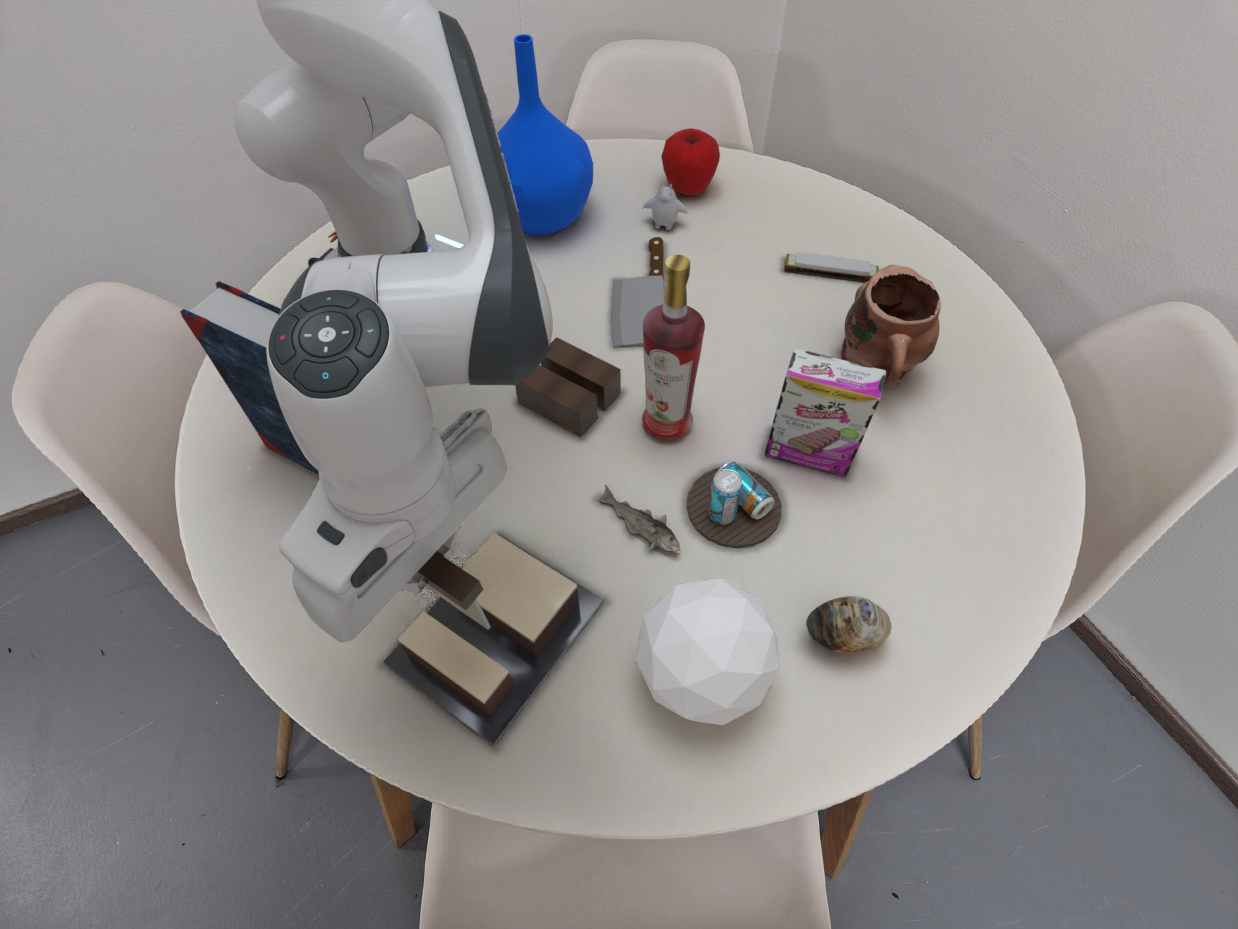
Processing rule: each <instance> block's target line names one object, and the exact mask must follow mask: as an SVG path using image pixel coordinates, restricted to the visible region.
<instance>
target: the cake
mask: <svg viewBox="0 0 1238 929" xmlns="http://www.w3.org/2000/svg"><path fill="white" fill-rule="evenodd" d="M461 569H463V570H464V571H466V572H467V573H469V574H470V575H472V576H473V577H475V578H476V579H478V580H479V581H480V583H481V585H482V587H483V591H482V592H481V593H480V595H479V596H478V597H477V598H476V599H477V601H478V603H479V605H480V607H481V609H482V611H483V612H484V614H485V616H486V618H487V620H488V622H489V624H490V626H491V627H490V628H489V630H488V629H486V628H485V627H483V626H482V625H480V624H479V623H477V622H476V621H475V620H473V619H472V618H470V617H469V616H467V615H466V614H464V613H463V612H462V611H460V610H459V609H457V608H456V607H454V606H453V605H452V604H450V603H449V602H447V601H446V600H444V599H443V598H441V597H439V598H438V599H437V601H436V602H435V603H434V604H433V605H432V606H431V607H430V608H429V610H427V611H426V613H427V614H428V615H430V616H431V617H433V618H434V619H436V620H437V621H438V622H440V623H441V624H443V625H444V626H445V627H447V628H448V629H450V630H451V631H453V632H454V633H455V634H457V635H458V636H460V637H461V638H463V639H464V640H465V641H467V642H468V643H470V644H471V645H473V646H474V647H475V648H477V649H478V650H480V651H481V652H482V653H484V654H485V655H487V656H488V657H490V658H491V659H492V660H494V661H495V662H497V663H498V664H500V665H501V666H502V667H504V668H505V669H507V670H508V671H509V674H510V677H511V679H512V682H513V685H514V688H513V690H512V691H511V692H510V693H509V695H508V696H507V697H506V699H505V700H504V701H503V702H502V704H501V705H500V706H499V708H498V709H497V710H496V712H495V713H494V714H493V715H492V717H489V716H488V715H486V714H485V713H484V712H482V711H481V710H480V709H478V708H477V707H476V706H474V705H473V704H471V703H470V702H469V701H467V700H466V699H465V698H463V697H462V696H461V695H459V694H458V693H457V692H455V691H454V690H452V689H451V688H450V687H448V686H447V685H446V684H444V683H443V682H442V681H440V680H439V679H438V678H436V677H435V676H433V675H432V674H431V673H429V672H428V671H427V670H425V669H424V668H423V667H421V666H420V665H418V664H417V663H416V662H414V661H413V660H412V659H410V658H409V657H408V656H407V654H406V652H405V651H404V649H403V648H402V646H401V644H400V643H399V642H398V643H399V644H398V645H397V646H396V647H395V648H394V649H393V650H392V651H391V652H390V653H389V654H388V655H387V657H386V658H385V659H384V660H383V662H382V663H383V665H385V666H386V667H387V668H389V669H390V670H391V671H393V672H394V673H395V674H396V675H398V676H399V677H401V678H402V679H403V680H405V681H406V682H407V683H409V684H410V685H412V686H413V687H414V688H416V689H417V690H418V691H419V692H421V693H422V694H423V695H425V696H426V697H428V699H430V700H431V701H433V702H434V703H435V704H436V705H438V706H439V707H440V708H442V709H443V710H444V711H445V712H447V713H449V714H450V715H451V716H453V718H455V719H457V721H459V722H460V723H462V724H463V725H465V727H467V728H469V730H471V731H473V733H475V734H476V735H478V736H479V737H480V738H482V739H483V740H485V741H486V742H487V743H488V744H490V745H491V746H492V747H496V745H497V743H498V742H499V741H500V740H501V738H502V737H503V736H504V735H505V733H506V732H507V730H508V729H509V728H510V727H511V725H512V724H513V722H514V721H515V720H516V719H517V717H518V716H519V714H520V713H521V712H522V710H523V709H524V708H525V706H526V705H527V704H528V702H529V701H530V700H531V699H532V698H533V696H534V695H535V693H536V692H537V691H538V690H539V688H540V687H541V685H542V684H543V683H544V682H545V681H546V679H547V678H548V676H549V675H550V673H551V672H552V671H553V670H554V668H555V667H556V665H558V663H559V662H560V660H562V657H563V656H564V655H565V654H566V652H567V651H568V650H569V649H570V647H571V646H572V644H573V643H574V642H575V640H576V639H577V638H578V636H579V635H580V634H581V632H582V631H583V630H584V628H585V627H586V626H587V625H588V623H589V622H590V620H591V619H592V618H593V617H594V616H595V614H596V613H597V611H598V610H599V609H600V608H601V606H602V605H603V603H604V599H603V598H601V597H600V596H598V595H597V594H595V593H593V592H592V591H590V590H589V589H587V588H586V587H585V586H582V585H580V584H579V583H577V582H576V581H574V580H573V579H571V578H570V577H568V576H566V575H565V574H564V573H562V572H560V571H558V570H557V569H555V568H554V567H552V566H550V565H549V564H547V563H546V562H544V561H542V560H541V559H540V558H538V557H536V556H534V555H533V554H531V553H530V552H529V551H526V550H525V549H523V547H520V546H519V545H517V544H516V543H514V542H512V541H511V540H509V539H508V538H506V537H505V536H503V535H501V534H500V533H496V532H493V533H492V534H491V535H490V536H489V537H488V538H487V540H486V541H485V542H484V543H483V544H482V545H481V546H480V548H478V550H476V552H475V553H474V554H473V555H472V556H471V558H470V559H468V561H466V563H465V564H464V565H463V567H461Z"/></svg>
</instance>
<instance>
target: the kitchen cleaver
mask: <svg viewBox="0 0 1238 929" xmlns="http://www.w3.org/2000/svg"><path fill="white" fill-rule="evenodd" d="M648 249H649V250H650V254H649V255H650V256H649V259H650V263H649V264H650V267H651V268H650V269H649V272H648V275H644V276H636V277H629V278H622V279H614V280H613V281H614V282H613V291H612V304H611V330H612V333H611V334H612V344H613V347H614V348H623V347H643V320H644V317H645V316H646V314H647V313H648V312H649V311H650V310H651V309H653V308H655V307H657V306H659V305H663V302H664V296H665V290H664V239H663V238H662V237H661V236H654V237H652V238H651V239H650V240H649V241H648Z"/></svg>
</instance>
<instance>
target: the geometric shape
mask: <svg viewBox="0 0 1238 929" xmlns="http://www.w3.org/2000/svg"><path fill="white" fill-rule="evenodd" d="M636 650H637V651H636V657H635V663H636V665H637V668H638V669H639V671H640V673H641V675H642V677H643V679H644V681H645V683H646V686H647V687H648V689H649V691H650V694H651V695H652V698H653V700H654V702H656V703H658V704H659V705H661V706H662V707H664V708H666V709H668V710H669V711H671V712H673V713H675V714H677V715H679V716H680V717H682V718H684V719H686V720H689V721H693V722H697V723H705V724H712V725H718V726H725V725H726V724H728V723H730V722H732V721H734V720H736V719H738V718H740V717H742V716H743V715H745V714H747V713H749V712H751V711H752V710H755V709H757V708H758V707H760V706H761V704H762V702H763V700H764V699H765V696H766V695H767V693H768V691H769V689H770V688H771V686H772V684H773V682H774V680H775V679H776V676H777V674H778V673H779V671H780V654H779V653H780V652H779V638H778V636H777V634H776V632H775V630H774V627H773V625H772V624H771V621H770V619H769V617H768V615H767V613H766V610H765V608H764V607H763V605H762V602H761V600H760V598H758V597H756V596H754V595H753V594H750V593H749V592H747V591H745V590H743V589H741V588H739V587H737V586H736V585H733V584H732V583H730V582H728V581H726V580H725V579H722V578H706V579H705V578H704V579H692V580H689V581H685V582H683V583H682V582H681V583H679V584H676V585H675V586H673V587H672V588H671V589H670V590H668V591H667V592H666V593H665V594H663V595H662V596H661V597H659V598H658V600H657V601H656V602H655V603H654V604H653V605H652V606H651V607H650V609H649V610H648V611H647V612H646V613H645V615H644V616H643V619H642V622H641V626H640V630H639V636H638V644H637V649H636Z"/></svg>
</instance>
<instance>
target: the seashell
mask: <svg viewBox="0 0 1238 929" xmlns="http://www.w3.org/2000/svg"><path fill="white" fill-rule="evenodd" d="M805 625H806V628H807V631H808V633H809V636H810V637H811V639H812V640H813V641H814V642H815V643H816V644H818V645H819V646H821V647H822V648H825V649H826V650H829V651H833V652H837V653H846V654H854V653H861V652H866V651H868V650H871V649H874V648H876V647H878V646H880V645H881V644H883V643H884V642H885V641H886V640H887V639H888V638H889V637H890V635H891V632H892V628H893V626H892V625H893V624H892V621H891V619H890V616H889V614H888V613H887V612H886V610H884V609H883V608H882V607H881V606H879V605H878V604H876V603H875V602H874V601H872V600H869V599H868V598H865V597H861V596H855V595H850V596H849V595H847V596H840V597H836V598H833V599H830V600H827V601H825V602H823V603H822V604H820V605H818V606H816V607H815V608H814V609H813V610H811V611H810V612H809V614H808V615H807V618H806V624H805Z"/></svg>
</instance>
